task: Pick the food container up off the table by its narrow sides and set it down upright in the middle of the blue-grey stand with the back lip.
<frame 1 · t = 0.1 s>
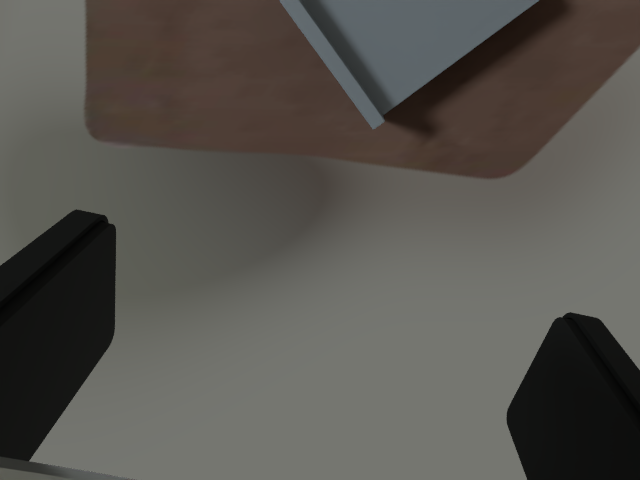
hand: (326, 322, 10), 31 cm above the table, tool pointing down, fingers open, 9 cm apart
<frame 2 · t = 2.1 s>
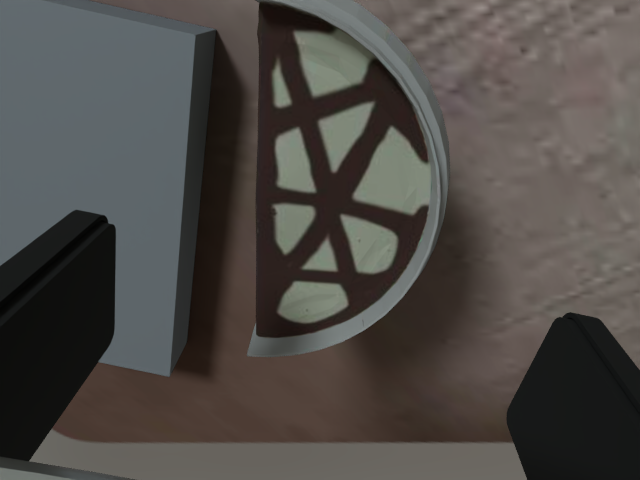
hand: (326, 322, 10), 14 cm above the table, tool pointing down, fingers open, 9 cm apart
food container: (355, 128, 23), on the table
stand: (67, 182, 25), on the table
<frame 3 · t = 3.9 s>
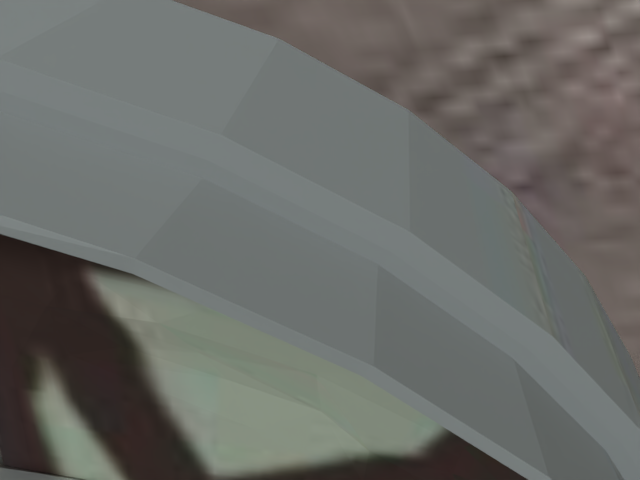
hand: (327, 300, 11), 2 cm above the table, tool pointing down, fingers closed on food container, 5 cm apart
food container: (354, 253, 13), on the table, touching gripper
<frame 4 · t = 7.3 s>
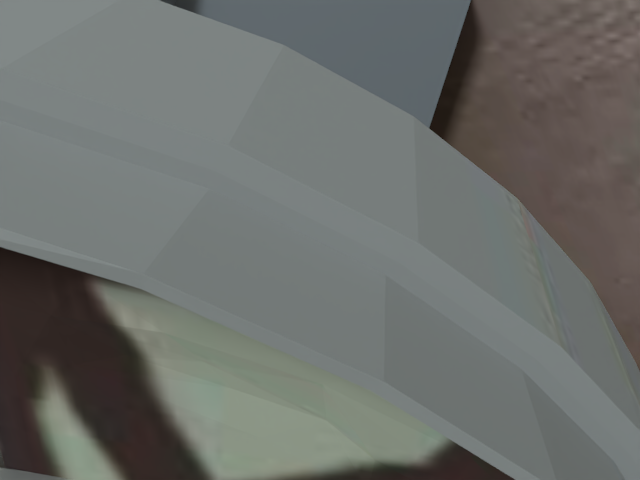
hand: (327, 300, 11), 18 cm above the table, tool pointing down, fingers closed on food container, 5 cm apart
food container: (355, 254, 13), point 16 cm above the table, touching gripper
stand: (291, 123, 27), on the table
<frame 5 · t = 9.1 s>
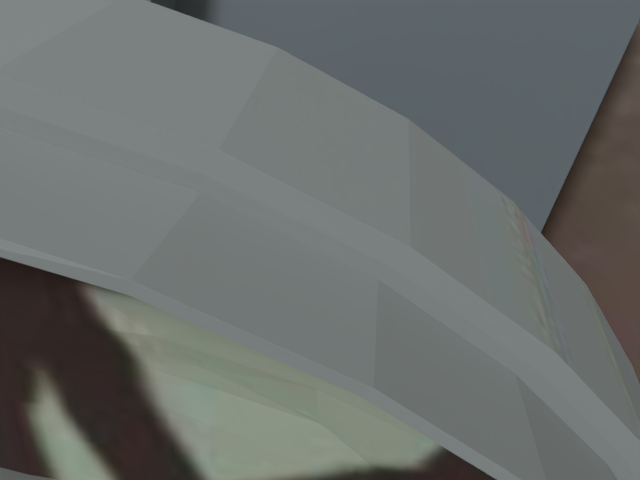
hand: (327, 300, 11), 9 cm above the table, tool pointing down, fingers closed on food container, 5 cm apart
food container: (354, 255, 13), point 7 cm above the table, touching gripper
stand: (342, 169, 19), on the table
when the fingers open (6 cm above the table, at t = 10.5 s): food container drops 1 cm, resting on stand.
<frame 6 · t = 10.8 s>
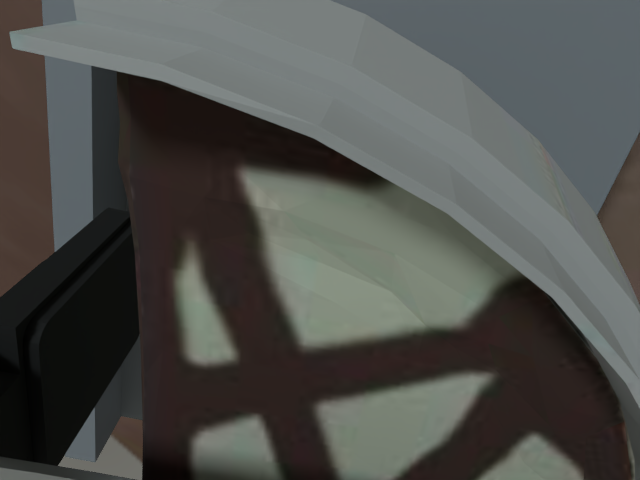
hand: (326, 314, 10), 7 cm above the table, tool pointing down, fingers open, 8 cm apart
food container: (380, 234, 14), point 3 cm above the table, touching gripper, stand
stand: (334, 197, 17), on the table
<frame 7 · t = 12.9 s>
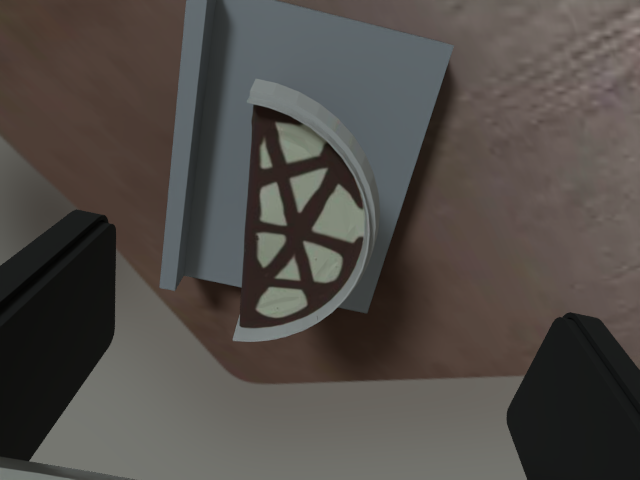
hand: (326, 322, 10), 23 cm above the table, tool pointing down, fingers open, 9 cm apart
food container: (318, 171, 30), point 3 cm above the table, touching stand
stand: (298, 158, 32), on the table
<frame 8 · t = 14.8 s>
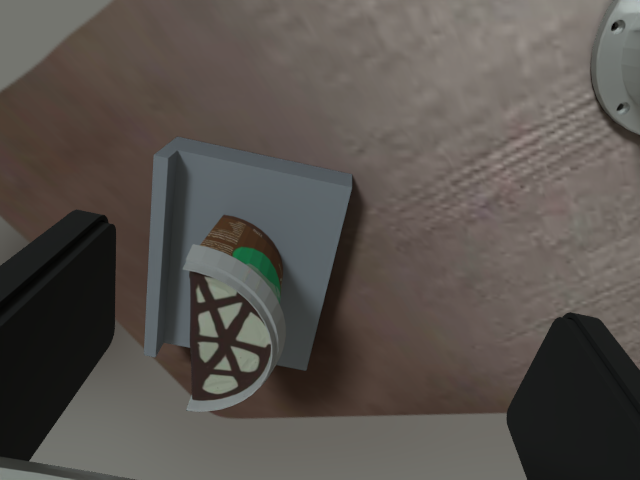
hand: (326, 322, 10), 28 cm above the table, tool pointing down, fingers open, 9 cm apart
food container: (260, 270, 39), point 3 cm above the table, touching stand
stand: (249, 253, 42), on the table
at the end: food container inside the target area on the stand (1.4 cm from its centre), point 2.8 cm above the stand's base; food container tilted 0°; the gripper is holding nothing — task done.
